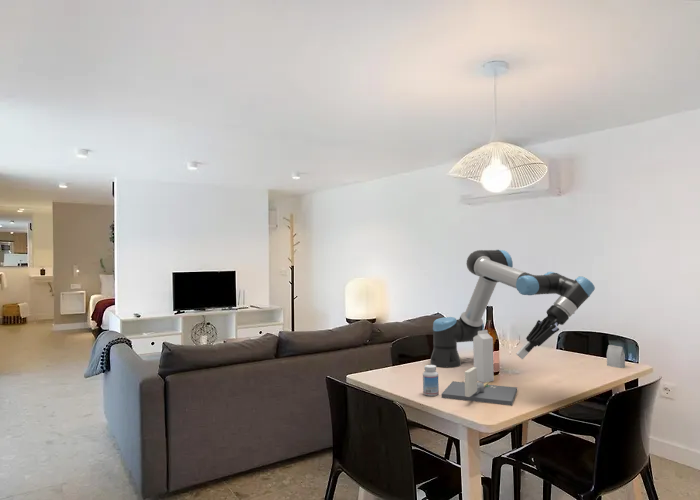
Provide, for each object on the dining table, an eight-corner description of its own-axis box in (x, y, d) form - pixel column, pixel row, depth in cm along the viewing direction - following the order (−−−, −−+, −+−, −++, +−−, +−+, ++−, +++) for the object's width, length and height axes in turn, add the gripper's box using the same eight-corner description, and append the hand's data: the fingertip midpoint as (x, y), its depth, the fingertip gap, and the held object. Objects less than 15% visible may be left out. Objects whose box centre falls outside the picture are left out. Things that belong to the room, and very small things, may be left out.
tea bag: (620, 368, 223) (620, 347, 224) (606, 365, 229) (606, 345, 229) (625, 367, 225) (624, 346, 225) (611, 364, 231) (610, 344, 231)
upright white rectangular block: (483, 383, 193) (483, 359, 193) (492, 384, 191) (492, 359, 191) (462, 399, 172) (461, 371, 173) (471, 400, 170) (471, 372, 171)
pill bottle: (441, 394, 185) (441, 366, 185) (430, 397, 181) (429, 368, 182) (431, 391, 190) (430, 363, 190) (420, 393, 186) (419, 365, 187)
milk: (493, 381, 204) (493, 330, 204) (483, 383, 201) (483, 331, 201) (483, 378, 209) (482, 328, 210) (473, 379, 206) (472, 330, 207)
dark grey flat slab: (441, 397, 181) (441, 393, 181) (452, 384, 199) (452, 380, 199) (511, 405, 170) (511, 400, 170) (517, 391, 188) (517, 386, 188)
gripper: (577, 320, 170) (534, 367, 169) (558, 315, 183) (518, 359, 182) (563, 306, 170) (520, 353, 168) (545, 302, 183) (505, 346, 181)
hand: (519, 356), depth 175 cm, fingers closed
